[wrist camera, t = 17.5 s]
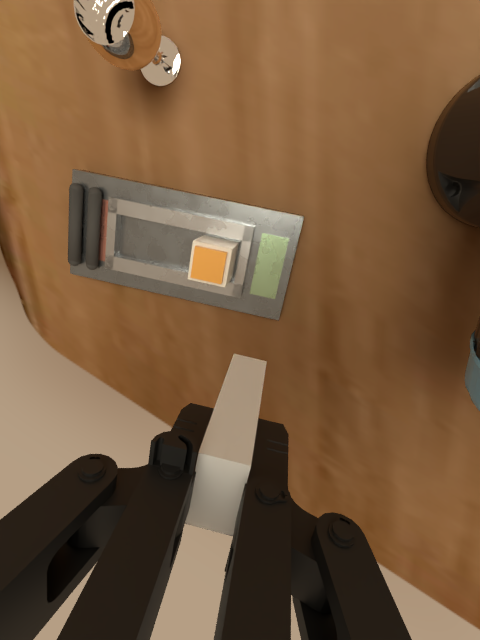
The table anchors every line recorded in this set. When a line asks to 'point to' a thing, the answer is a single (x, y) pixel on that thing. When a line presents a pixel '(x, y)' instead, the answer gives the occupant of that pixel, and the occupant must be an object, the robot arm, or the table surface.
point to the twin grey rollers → (76, 226)
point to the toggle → (212, 260)
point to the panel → (188, 243)
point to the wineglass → (130, 37)
